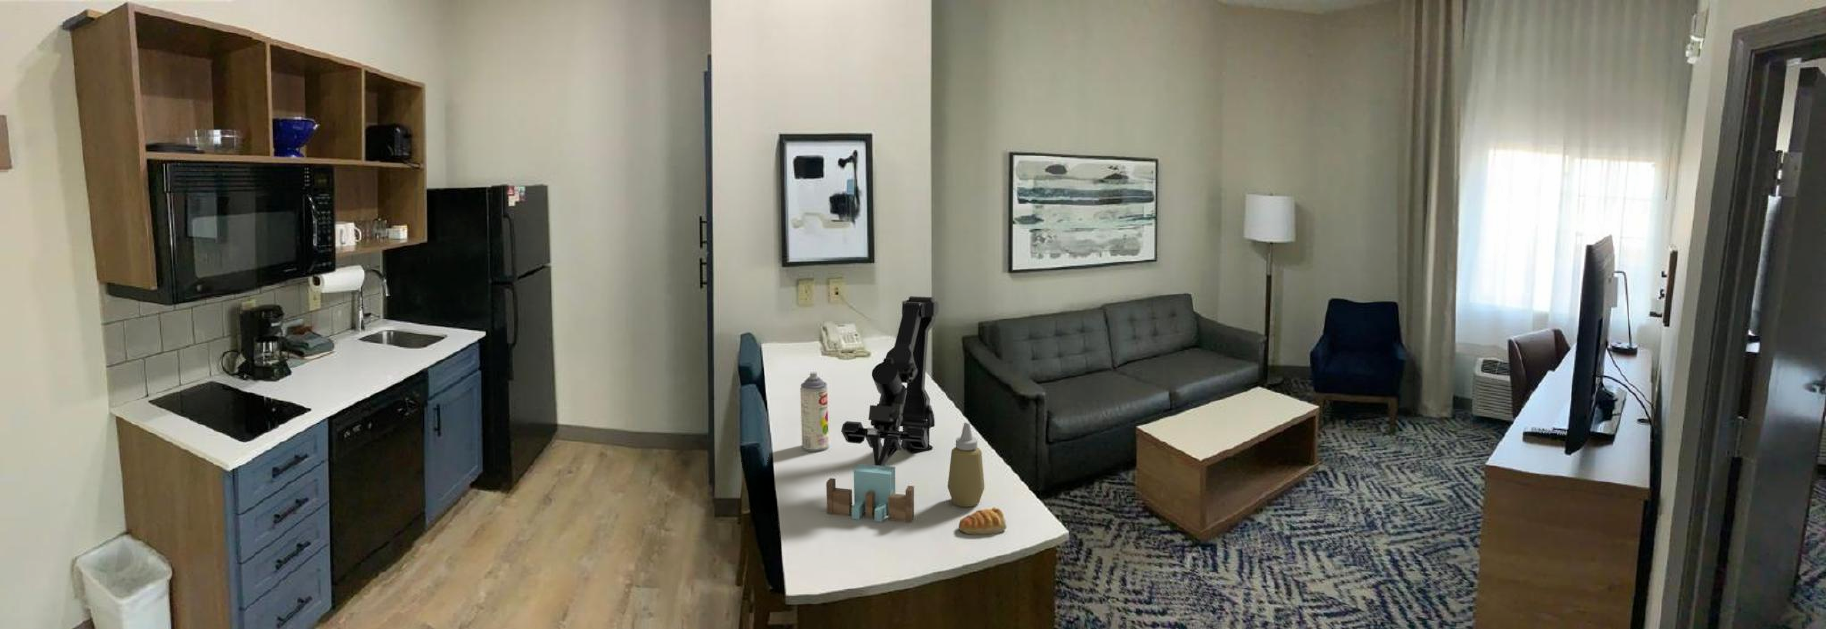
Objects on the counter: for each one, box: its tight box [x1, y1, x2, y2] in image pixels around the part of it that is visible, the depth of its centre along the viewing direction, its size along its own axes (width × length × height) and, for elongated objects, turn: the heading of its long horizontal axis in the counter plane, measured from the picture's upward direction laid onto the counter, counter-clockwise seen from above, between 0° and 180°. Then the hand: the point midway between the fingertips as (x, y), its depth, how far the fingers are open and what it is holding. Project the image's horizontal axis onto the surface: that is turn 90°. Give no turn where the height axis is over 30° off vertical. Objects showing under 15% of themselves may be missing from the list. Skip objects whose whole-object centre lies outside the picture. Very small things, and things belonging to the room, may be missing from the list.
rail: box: [825, 477, 915, 523], centre depth 172 cm, size 2×18×7 cm, turn 76°
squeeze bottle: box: [947, 422, 985, 508], centre depth 177 cm, size 8×8×18 cm
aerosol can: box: [799, 371, 830, 453], centre depth 210 cm, size 7×7×20 cm
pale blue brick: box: [851, 463, 896, 523], centre depth 173 cm, size 8×8×9 cm
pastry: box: [958, 507, 1007, 535], centre depth 167 cm, size 9×7×4 cm
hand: (877, 470), depth 177 cm, fingers closed, pressing on pale blue brick
